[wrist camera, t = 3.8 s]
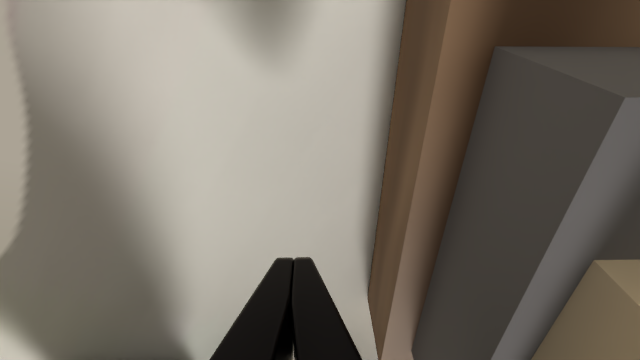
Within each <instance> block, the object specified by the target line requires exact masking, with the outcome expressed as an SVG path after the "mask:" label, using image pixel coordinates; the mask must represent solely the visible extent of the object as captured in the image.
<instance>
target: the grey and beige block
mask: <svg viewBox="0 0 640 360" xmlns="http://www.w3.org/2000/svg"><path fill="white" fill-rule="evenodd" d="M411 352H412V356H413V359H414V360H640V47H513V46H495V48H494V51H493V55H492V59H491V62H490V66H489V70H488V73H487V77H486V81H485V84H484V88H483V92H482V95H481V99H480V102H479V106H478V110H477V113H476V117H475V121H474V124H473V128H472V132H471V135H470V139H469V143H468V146H467V150H466V153H465V157H464V161H463V164H462V168H461V172H460V175H459V179H458V183H457V186H456V190H455V194H454V197H453V201H452V204H451V208H450V212H449V215H448V219H447V223H446V226H445V230H444V234H443V237H442V241H441V245H440V248H439V252H438V255H437V259H436V263H435V266H434V270H433V274H432V277H431V281H430V285H429V288H428V292H427V296H426V299H425V303H424V306H423V310H422V314H421V317H420V321H419V325H418V328H417V332H416V336H415V339H414V343H413V347H412V350H411Z"/></svg>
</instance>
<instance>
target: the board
mask: <svg viewBox="0 0 640 360" xmlns="http://www.w3.org/2000/svg"><path fill="white" fill-rule="evenodd" d="M495 46H513V47H640V0H406V8H405V16H404V23H403V31H402V39H401V46H400V54H399V62H398V69H397V77H396V85H395V92H394V100H393V108H392V115H391V123H390V131H389V138H388V146H387V154H386V161H385V169H384V176H383V184H382V192H381V199H380V207H379V215H378V222H377V230H376V238H375V245H374V253H373V261H372V268H371V276H370V284H369V291H368V303H369V309H370V315H371V320H372V326H373V332H374V337H375V343H376V349H377V354H378V360H414V359H413V356H412V352H411V350H412V347H413V343H414V339H415V336H416V332H417V328H418V325H419V321H420V317H421V314H422V310H423V306H424V303H425V299H426V296H427V292H428V288H429V285H430V281H431V277H432V274H433V270H434V266H435V263H436V259H437V255H438V252H439V248H440V245H441V241H442V237H443V234H444V230H445V226H446V223H447V219H448V215H449V212H450V208H451V204H452V201H453V197H454V194H455V190H456V186H457V183H458V179H459V175H460V172H461V168H462V164H463V161H464V157H465V153H466V150H467V146H468V143H469V139H470V135H471V132H472V128H473V124H474V121H475V117H476V113H477V110H478V106H479V102H480V99H481V95H482V92H483V88H484V84H485V81H486V77H487V73H488V70H489V66H490V62H491V59H492V55H493V51H494V48H495Z"/></svg>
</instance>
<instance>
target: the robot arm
mask: <svg viewBox="0 0 640 360" xmlns="http://www.w3.org/2000/svg"><path fill="white" fill-rule="evenodd" d="M293 350H294V357H295V360H362V358H361V356H360V354H359V352H358V350H357V348H356V346H355V344H354V342H353V340H352V338H351V336H350V334H349V332H348V330H347V328H346V326H345V324H344V322H343V320H342V318H341V316H340V314H339V312H338V310H337V308H336V306H335V304H334V302H333V300H332V298H331V296H330V294H329V292H328V290H327V288H326V286H325V284H324V282H323V280H322V278H321V276H320V274H319V272H318V270H317V268H316V266H315V264H314V262H313V260H312V259H311V258H310V257H298V258H295V259H294V260H293V258H277V259H276V260H275V261H274V263H273V264H272V266H271V267H270V269H269V270H268V272H267V273H266V275H265V276H264V278H263V279H262V281H261V282H260V284H259V285H258V287H257V288H256V290H255V291H254V293H253V295H252V296H251V298H250V299H249V301H248V302H247V304H246V305H245V307H244V308H243V310H242V311H241V313H240V314H239V316H238V317H237V319H236V320H235V322H234V323H233V325H232V326H231V328H230V329H229V331H228V333H227V334H226V336H225V337H224V339H223V340H222V342H221V343H220V345H219V346H218V348H217V349H216V351H215V352H214V354H213V355H212V357H211V358H210V360H293Z"/></svg>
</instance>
